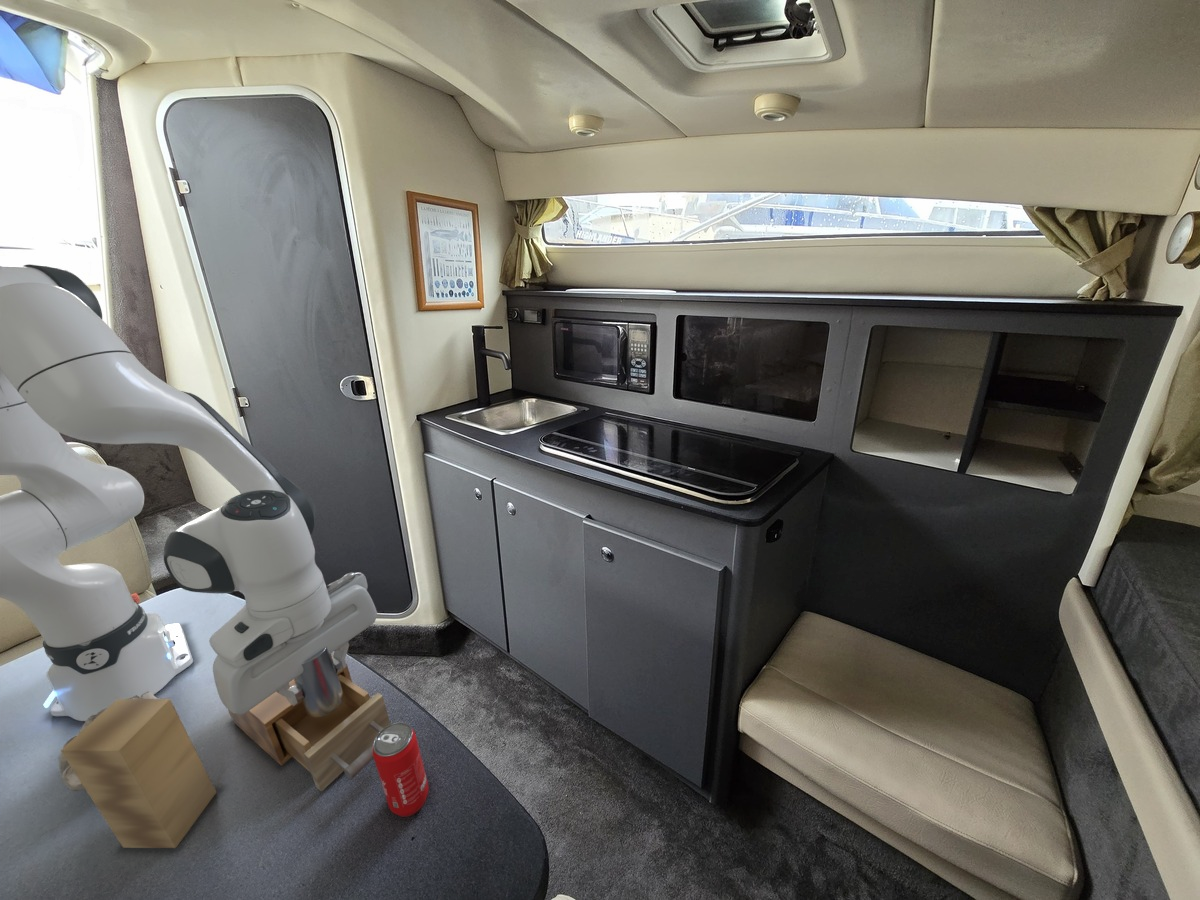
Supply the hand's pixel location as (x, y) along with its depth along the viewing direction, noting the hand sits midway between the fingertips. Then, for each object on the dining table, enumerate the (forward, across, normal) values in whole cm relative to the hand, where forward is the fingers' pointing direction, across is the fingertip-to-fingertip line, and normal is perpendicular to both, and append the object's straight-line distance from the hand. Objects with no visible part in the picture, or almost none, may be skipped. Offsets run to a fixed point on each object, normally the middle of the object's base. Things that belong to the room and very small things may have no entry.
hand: (318, 684), depth 71 cm
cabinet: (+12, 0, -12) cm, 17 cm away
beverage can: (+13, 0, +16) cm, 21 cm away
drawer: (+12, 0, +1) cm, 12 cm away
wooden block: (+12, +18, -10) cm, 24 cm away
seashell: (+12, +18, -25) cm, 33 cm away
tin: (+4, 0, 0) cm, 4 cm away
